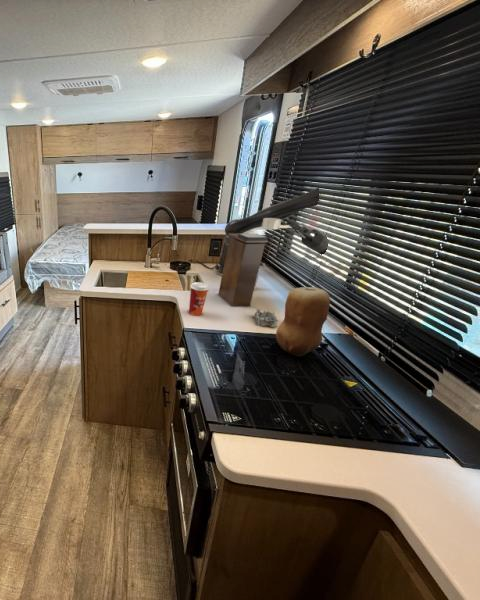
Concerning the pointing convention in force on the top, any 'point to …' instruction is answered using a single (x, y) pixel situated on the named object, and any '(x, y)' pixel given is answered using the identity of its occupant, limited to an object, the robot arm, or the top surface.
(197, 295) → the paper cup
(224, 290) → the pedestal
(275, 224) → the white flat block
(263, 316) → the grey knobbly lump
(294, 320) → the butternut squash
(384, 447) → the top surface
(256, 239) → the scale
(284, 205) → the robot arm
